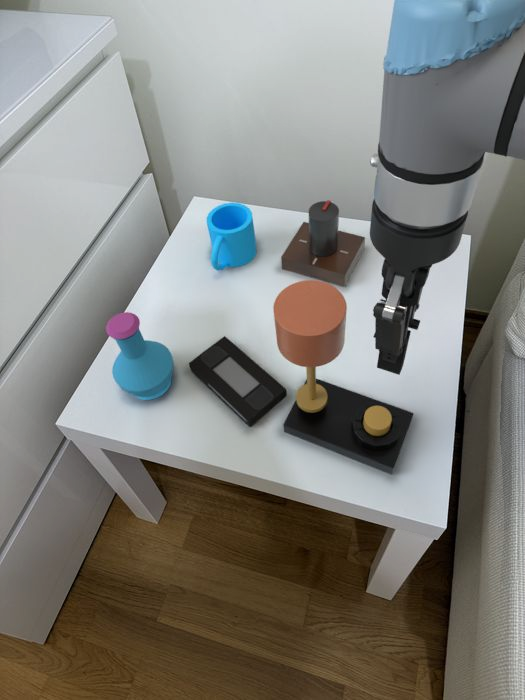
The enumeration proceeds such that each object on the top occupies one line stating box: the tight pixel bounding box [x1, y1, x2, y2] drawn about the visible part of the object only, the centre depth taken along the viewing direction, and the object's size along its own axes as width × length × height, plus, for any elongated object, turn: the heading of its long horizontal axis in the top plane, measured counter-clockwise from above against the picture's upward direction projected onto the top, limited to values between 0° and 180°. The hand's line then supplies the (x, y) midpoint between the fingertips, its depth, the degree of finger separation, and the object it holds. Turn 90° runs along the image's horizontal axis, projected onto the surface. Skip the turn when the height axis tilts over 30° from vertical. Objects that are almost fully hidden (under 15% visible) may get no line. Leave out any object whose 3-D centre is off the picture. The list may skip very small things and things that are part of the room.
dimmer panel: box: [280, 221, 366, 288], centre depth 93 cm, size 12×10×3 cm
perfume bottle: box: [105, 311, 174, 401], centre depth 76 cm, size 9×9×15 cm
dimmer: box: [308, 199, 340, 257], centre depth 88 cm, size 5×5×8 cm
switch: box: [363, 406, 392, 436], centre depth 69 cm, size 4×4×2 cm
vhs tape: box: [188, 335, 288, 428], centre depth 79 cm, size 8×14×2 cm, turn 42°
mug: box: [206, 202, 258, 272], centre depth 93 cm, size 12×8×8 cm
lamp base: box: [282, 378, 415, 476], centre depth 73 cm, size 16×9×4 cm, turn 64°
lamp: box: [273, 279, 348, 413], centre depth 65 cm, size 8×8×20 cm
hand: (390, 366), depth 60 cm, fingers closed
